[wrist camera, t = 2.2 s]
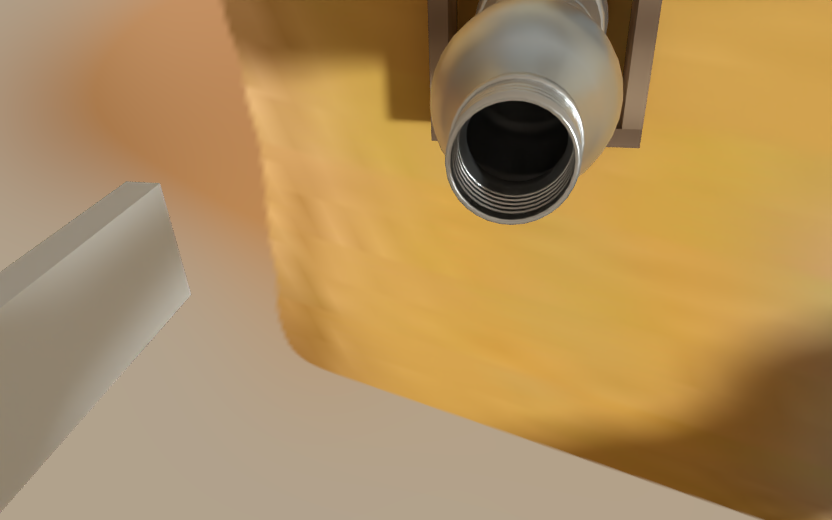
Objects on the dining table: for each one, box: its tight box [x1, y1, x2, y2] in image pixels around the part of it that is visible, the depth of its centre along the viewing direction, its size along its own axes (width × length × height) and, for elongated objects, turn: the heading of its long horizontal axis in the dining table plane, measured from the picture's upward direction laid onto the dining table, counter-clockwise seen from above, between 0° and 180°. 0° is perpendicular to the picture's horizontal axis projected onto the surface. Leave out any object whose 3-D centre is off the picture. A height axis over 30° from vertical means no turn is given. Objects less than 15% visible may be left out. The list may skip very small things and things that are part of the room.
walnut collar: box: [428, 0, 662, 148], centre depth 32 cm, size 12×11×3 cm
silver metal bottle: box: [430, 0, 623, 225], centre depth 25 cm, size 6×7×20 cm
